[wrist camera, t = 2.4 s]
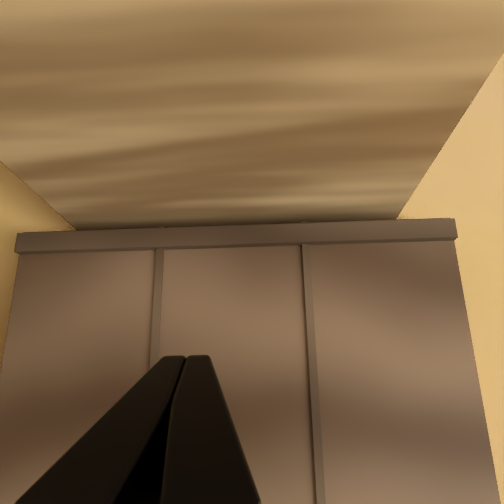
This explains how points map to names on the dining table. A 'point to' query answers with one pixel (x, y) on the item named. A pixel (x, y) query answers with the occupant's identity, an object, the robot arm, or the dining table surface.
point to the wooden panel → (260, 352)
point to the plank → (235, 105)
